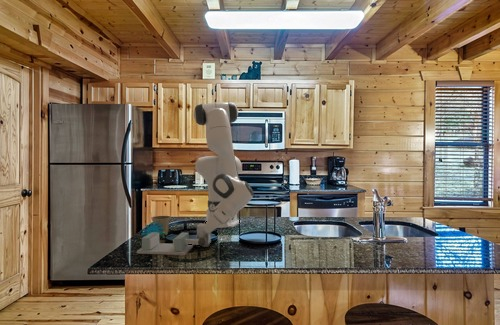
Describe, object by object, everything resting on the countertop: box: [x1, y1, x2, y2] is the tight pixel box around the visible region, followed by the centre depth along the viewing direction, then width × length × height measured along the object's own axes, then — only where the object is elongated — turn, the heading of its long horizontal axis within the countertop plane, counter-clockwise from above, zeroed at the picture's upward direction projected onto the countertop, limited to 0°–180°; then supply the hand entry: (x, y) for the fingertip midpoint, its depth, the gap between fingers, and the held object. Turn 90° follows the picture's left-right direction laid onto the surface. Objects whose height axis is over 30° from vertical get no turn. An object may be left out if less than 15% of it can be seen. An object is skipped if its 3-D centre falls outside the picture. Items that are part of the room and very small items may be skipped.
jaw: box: [172, 232, 206, 251], centre depth 135 cm, size 12×10×5 cm
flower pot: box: [151, 215, 171, 236], centre depth 162 cm, size 9×9×9 cm
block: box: [196, 222, 212, 248], centre depth 143 cm, size 5×5×9 cm
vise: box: [136, 232, 194, 256], centre depth 136 cm, size 20×12×6 cm, turn 84°
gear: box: [141, 221, 166, 239], centre depth 154 cm, size 11×6×10 cm
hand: (202, 233), depth 143 cm, fingers closed on block, 5 cm apart
